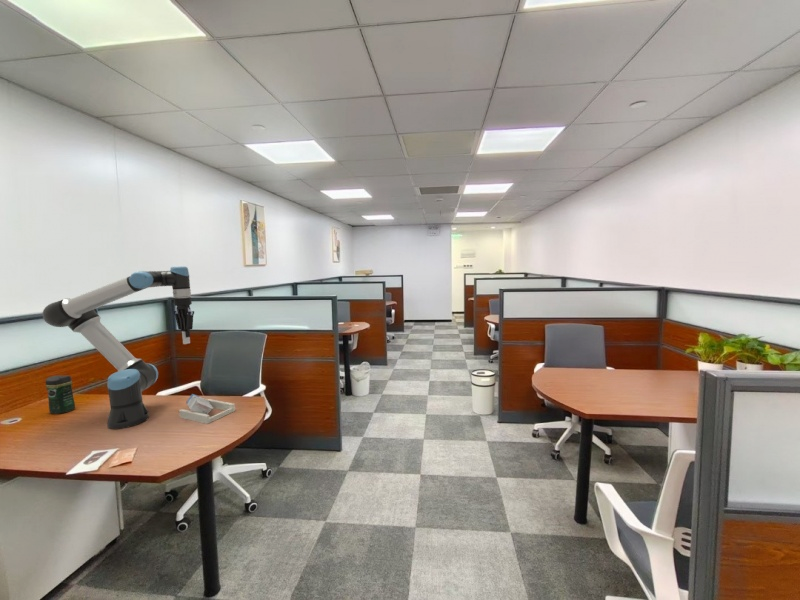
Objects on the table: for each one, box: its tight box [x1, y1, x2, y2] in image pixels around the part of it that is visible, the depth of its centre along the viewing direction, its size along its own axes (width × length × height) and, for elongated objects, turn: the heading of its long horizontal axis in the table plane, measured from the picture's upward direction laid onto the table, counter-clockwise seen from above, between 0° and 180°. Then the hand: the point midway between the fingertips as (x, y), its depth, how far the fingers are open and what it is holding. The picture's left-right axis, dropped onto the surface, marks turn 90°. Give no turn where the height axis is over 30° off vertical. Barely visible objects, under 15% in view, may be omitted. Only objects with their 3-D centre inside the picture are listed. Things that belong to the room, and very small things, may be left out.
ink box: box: [186, 393, 214, 415], centre depth 164 cm, size 8×5×15 cm
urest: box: [178, 398, 236, 425], centre depth 164 cm, size 19×15×4 cm
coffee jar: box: [45, 375, 76, 415], centre depth 173 cm, size 10×8×19 cm
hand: (186, 343), depth 173 cm, fingers closed
